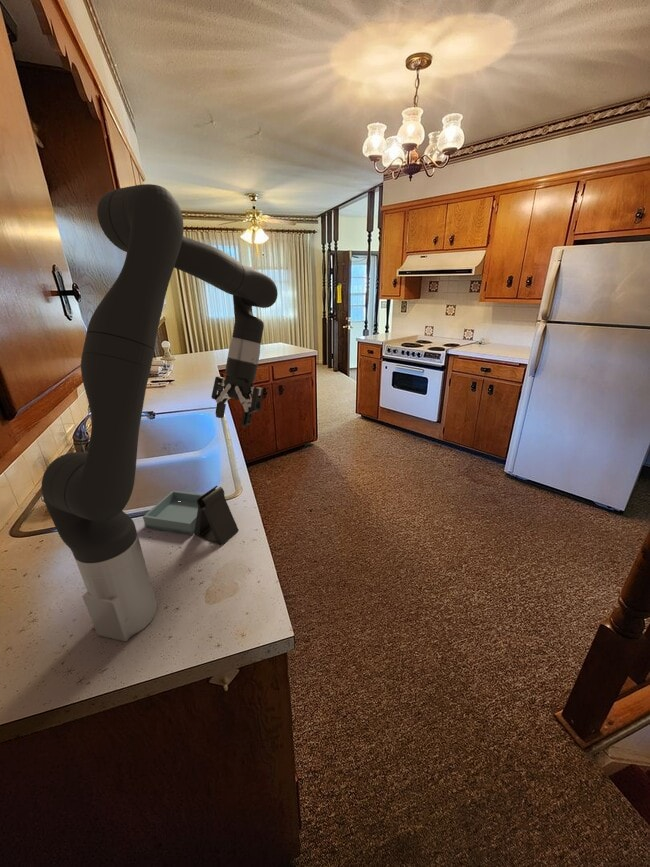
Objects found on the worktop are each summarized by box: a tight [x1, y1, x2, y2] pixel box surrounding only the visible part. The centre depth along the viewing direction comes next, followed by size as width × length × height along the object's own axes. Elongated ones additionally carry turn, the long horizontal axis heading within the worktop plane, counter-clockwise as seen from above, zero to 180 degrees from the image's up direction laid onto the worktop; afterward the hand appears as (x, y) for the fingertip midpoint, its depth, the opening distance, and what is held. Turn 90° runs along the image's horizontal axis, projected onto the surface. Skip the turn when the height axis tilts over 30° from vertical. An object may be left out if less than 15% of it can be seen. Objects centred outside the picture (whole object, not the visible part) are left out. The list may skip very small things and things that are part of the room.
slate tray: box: [142, 490, 204, 536], centre depth 92 cm, size 12×13×4 cm
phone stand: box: [193, 485, 239, 546], centre depth 84 cm, size 9×6×12 cm, turn 63°
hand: (232, 421), depth 90 cm, fingers open, 8 cm apart
